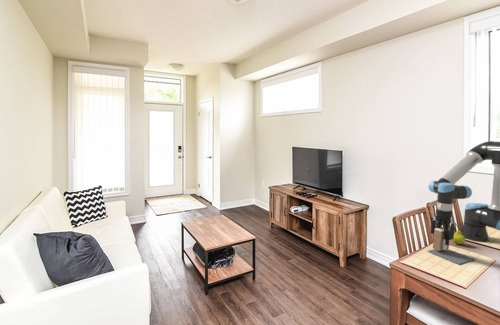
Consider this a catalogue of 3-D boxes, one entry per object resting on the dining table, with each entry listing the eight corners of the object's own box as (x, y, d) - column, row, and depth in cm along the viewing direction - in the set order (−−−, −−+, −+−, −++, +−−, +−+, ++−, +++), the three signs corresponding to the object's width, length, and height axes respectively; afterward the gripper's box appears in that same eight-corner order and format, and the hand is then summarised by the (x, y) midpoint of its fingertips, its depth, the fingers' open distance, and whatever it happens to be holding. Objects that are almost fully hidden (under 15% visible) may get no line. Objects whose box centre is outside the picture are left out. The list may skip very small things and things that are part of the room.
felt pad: (442, 247, 166) (442, 246, 166) (474, 260, 150) (474, 259, 150) (427, 251, 160) (427, 250, 160) (458, 264, 145) (458, 263, 145)
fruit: (466, 244, 170) (468, 226, 169) (462, 247, 167) (463, 228, 165) (454, 241, 176) (455, 223, 175) (449, 243, 173) (450, 225, 171)
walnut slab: (441, 245, 163) (443, 226, 162) (448, 248, 160) (450, 229, 158) (432, 248, 160) (434, 228, 159) (439, 250, 157) (441, 230, 155)
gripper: (425, 206, 164) (422, 243, 166) (456, 214, 148) (452, 255, 151) (433, 205, 167) (430, 241, 169) (464, 212, 151) (460, 252, 154)
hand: (440, 247), depth 160 cm, fingers closed on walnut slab, 4 cm apart
